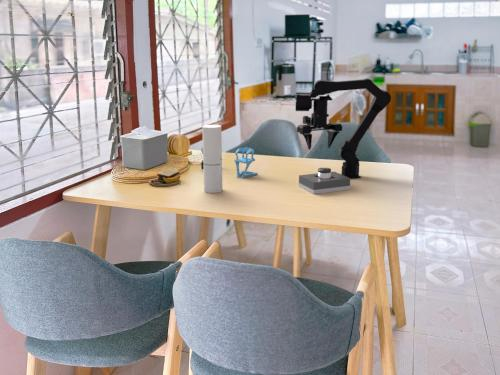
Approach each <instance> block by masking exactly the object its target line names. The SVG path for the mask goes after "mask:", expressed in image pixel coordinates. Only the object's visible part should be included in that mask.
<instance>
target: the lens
mask: <svg viewBox="0 0 500 375" xmlns="http://www.w3.org/2000/svg"><path fill="white" fill-rule="evenodd" d="M331 172H332V169H331V168H330V167H319V168H317V173H318V178H319V179H330V178H331Z"/></svg>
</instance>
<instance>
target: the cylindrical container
mask: <svg viewBox="0 0 500 375" xmlns="http://www.w3.org/2000/svg"><path fill="white" fill-rule="evenodd" d="M201 128H202V130H201V131H202V147H203V154H202V158H203V169H202V170H203V191H204V192H205V193H207V194H208V193H209V194H216V193H220V192H223V147H222V146H223V145H222V144H223V141H222V140H223V139H222V138H223V137H222V125H220V124H204V125H202V127H201Z"/></svg>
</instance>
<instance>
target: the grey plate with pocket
mask: <svg viewBox="0 0 500 375" xmlns="http://www.w3.org/2000/svg"><path fill="white" fill-rule="evenodd" d="M298 187H299V188H301V189H303V190H304V191H307V192H308V193H311V194H313V195H315V194H326V193H333V192H339V191H341V192H342V191H348V190H349V191H350V189H351V179H350V178H349V177H346V176H344V175H342V173H339V172H337V171H331V178H330V179H319V178H318V172H316V173H309V174H308V173H307V174H300V175H298Z"/></svg>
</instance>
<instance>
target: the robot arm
mask: <svg viewBox="0 0 500 375" xmlns="http://www.w3.org/2000/svg"><path fill="white" fill-rule="evenodd" d="M352 90H353V91H354V90H367V91H368V93H370V94H371V95H372V96H373V98H372V100H371V103H370V106H369V109H368V110H367V112H366V113H365V115H363V118H362V119H361V121H360V122H359V124H358V125H357V127H356V128H355V130H354V131H353V133H352V135H351V136H350V137H349V138H348V139H346V137H344V139H343V141H342V143H341V144H340V145H339V150H338V152H339V156H340V157H341V159H343V160H344V161H343V162H342V166H341V174H342V175H344V176H346V177H349V178H350V180H351V179H358V178H359V179H360V178H361V177H362V176H361V175H360V159H359V157H358V155H357V154H356V153H357V150H358V146H359V143H360V142H361V141H362V139H363V138H364V136H365V135H366V133H367V131H368V129H369V128H370V127H371V126H372V124H373V122H374V121H375V119H376V117H377V116H378V115H379V113H381V112H382V111H383V110H384V109H385V108H386V107H387V106H388V105H389V104H390V102H391V101H392V95H391V93H390V92H388V91H386V90H384V89H381V88H380V87H379V86H377V84H376V83H374V82H373V80H372V79H369V78H363V79H352V80H351V79H350V80H340V81H339V80H337V81H336V80H335V81H334V80H327V79H318V80H316V82H314V84H313V89H312V90H311V91H310V93H309V94H296V95H295V96H296V98H295V112H309V111H310V110H311V109H312V110H313V111H312V113H311V116H310V117H309V116H308V115H303V116H302V124H300V125H297V127H296V132H297V133H299V134H300V135H302V136H303V138H304V140H305V143H306V145H307V149H308V150H309V151H310V150H311V149H312V142H313V141H312V140H313V134H312V132H315V131H326V132H327V134H328V135H327V148H328V149H330V148H331V147H332V144H333V143H334V141H335V138H336V137H337V135H338V134H340V133H341V132H342V131H343V128H344V127H343V125H342V123H339V122H328V117H329V116H330V114H329V113H328V101H333V98H332V97H331V95H330V94H332V93H334V92H340V91H352ZM317 97H318V98H317Z"/></svg>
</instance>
